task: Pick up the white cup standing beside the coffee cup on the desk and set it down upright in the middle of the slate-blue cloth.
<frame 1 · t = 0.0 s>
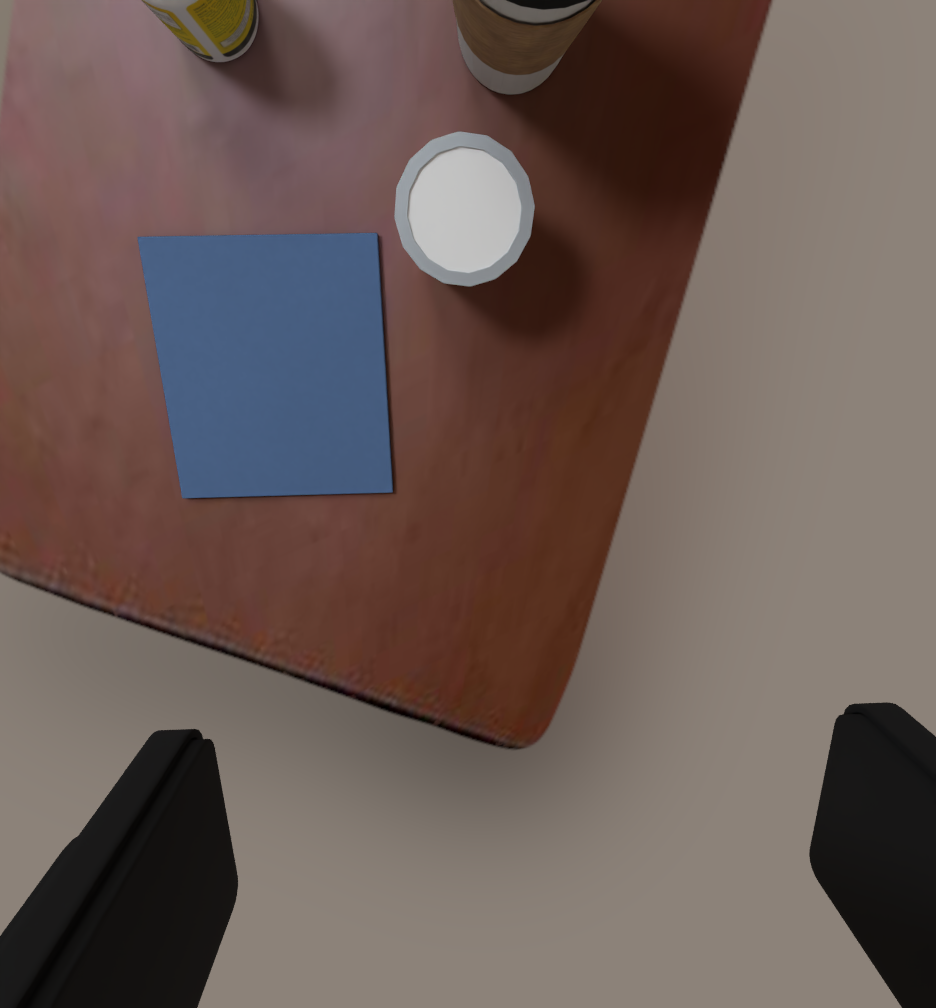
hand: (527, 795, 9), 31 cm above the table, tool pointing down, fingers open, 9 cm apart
supplement bottle: (216, 15, 32), on the table
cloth: (275, 373, 37), on the table
white cup: (461, 232, 35), on the table
coffee cup: (511, 34, 32), on the table
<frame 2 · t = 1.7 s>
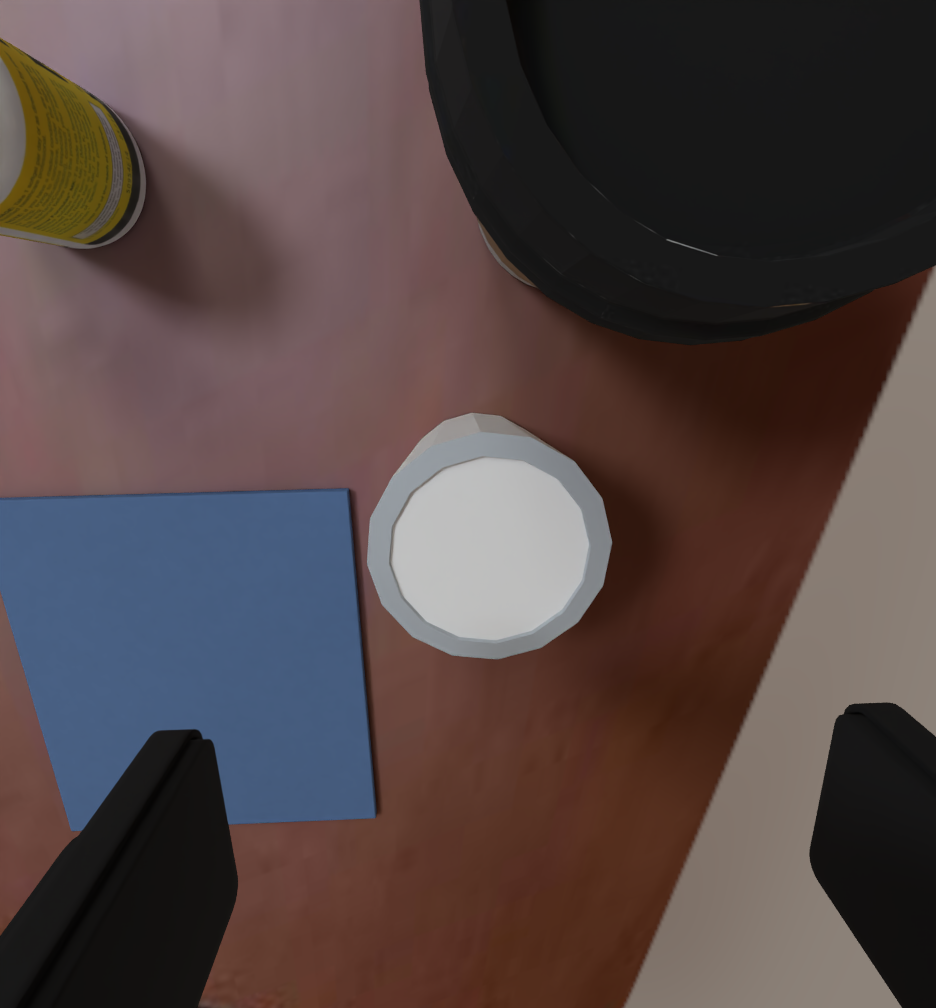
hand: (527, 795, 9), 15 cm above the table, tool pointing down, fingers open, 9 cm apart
supplement bottle: (78, 173, 19), on the table
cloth: (200, 671, 25), on the table
white cup: (477, 483, 23), on the table
coffee cup: (560, 199, 20), on the table
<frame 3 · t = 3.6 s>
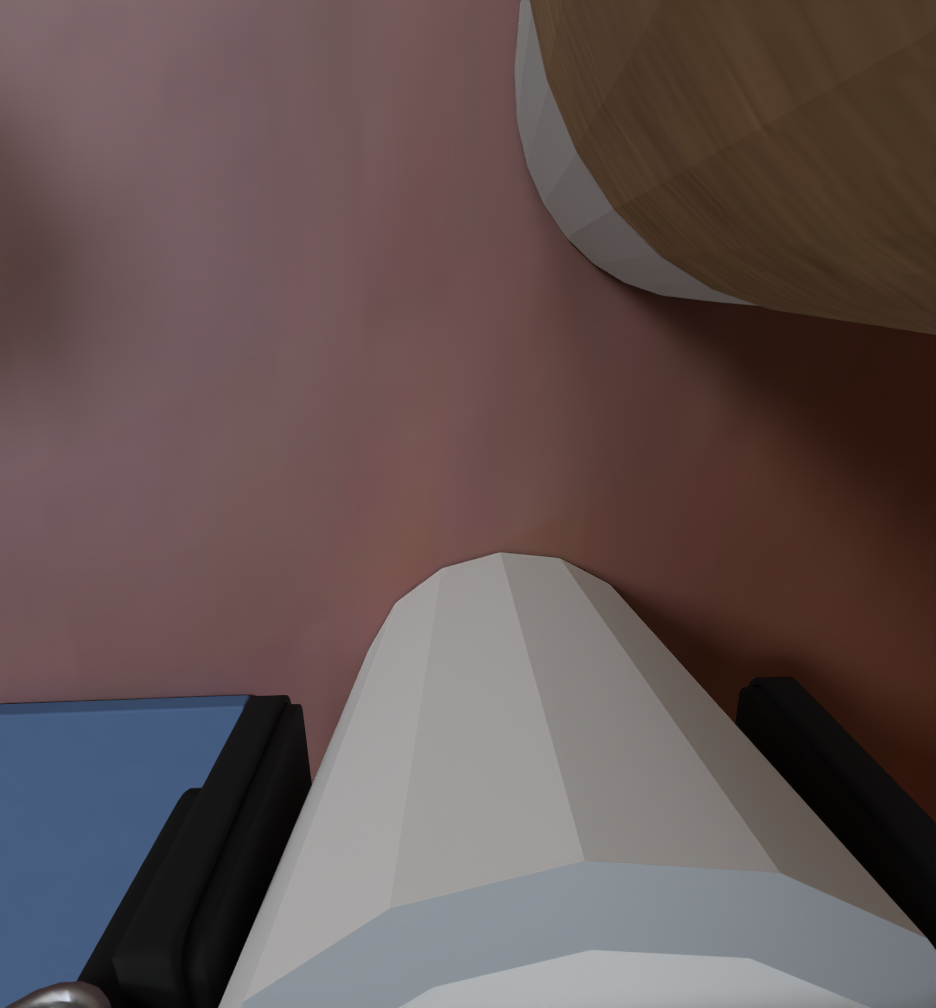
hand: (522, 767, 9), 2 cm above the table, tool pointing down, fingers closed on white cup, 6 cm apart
white cup: (507, 679, 12), on the table, touching gripper
coffee cup: (709, 89, 9), on the table
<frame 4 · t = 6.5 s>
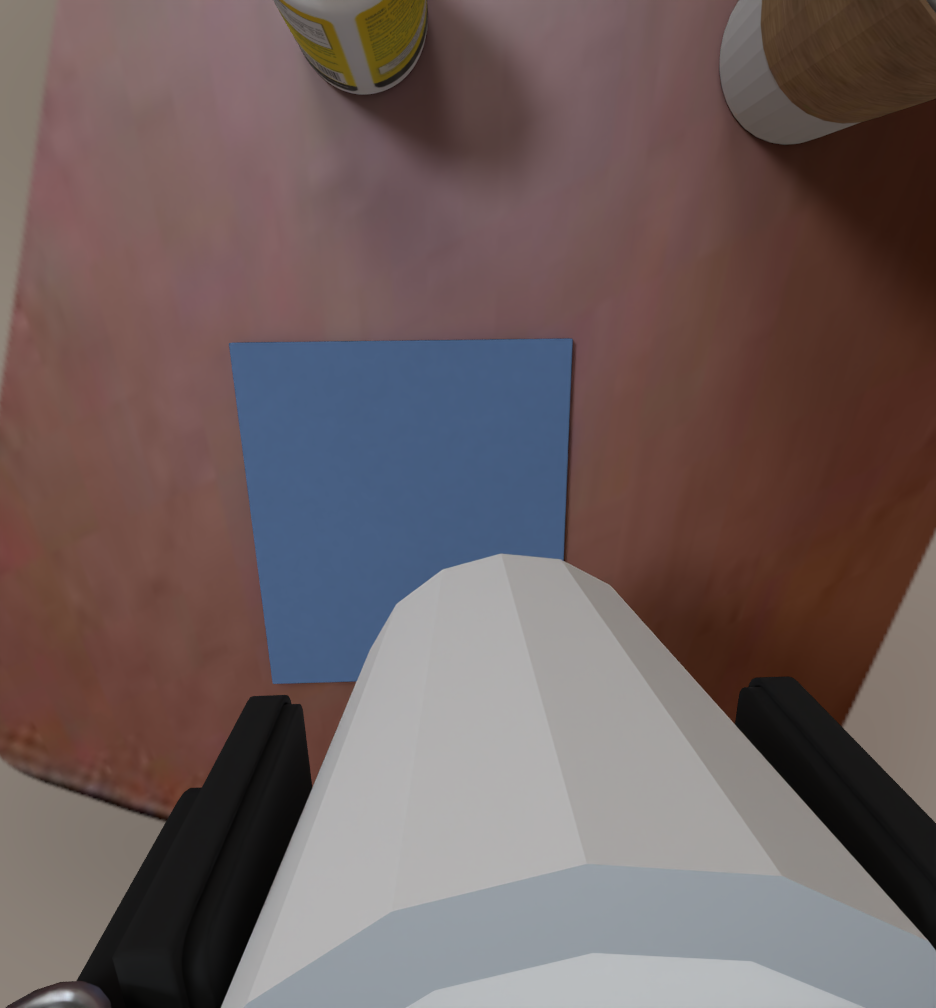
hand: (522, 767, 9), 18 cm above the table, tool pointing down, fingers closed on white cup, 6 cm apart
supplement bottle: (361, 23, 21), on the table
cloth: (410, 523, 27), on the table
white cup: (508, 680, 12), point 15 cm above the table, touching gripper
coffee cup: (794, 57, 22), on the table
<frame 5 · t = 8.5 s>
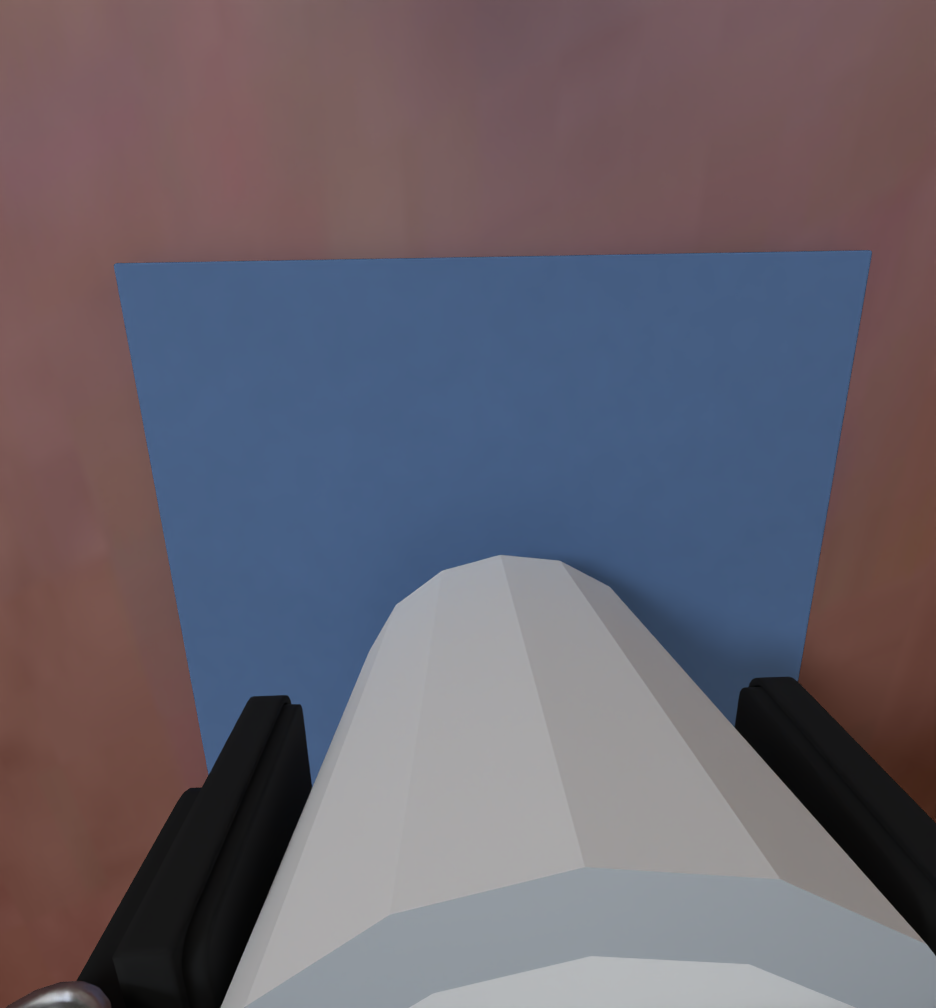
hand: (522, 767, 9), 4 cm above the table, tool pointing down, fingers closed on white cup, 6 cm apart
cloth: (499, 632, 13), on the table
white cup: (507, 681, 12), point 2 cm above the table, touching gripper
when the fingers open (3 cm above the table, at t = 9.6 s): white cup stays where it is, resting on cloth.
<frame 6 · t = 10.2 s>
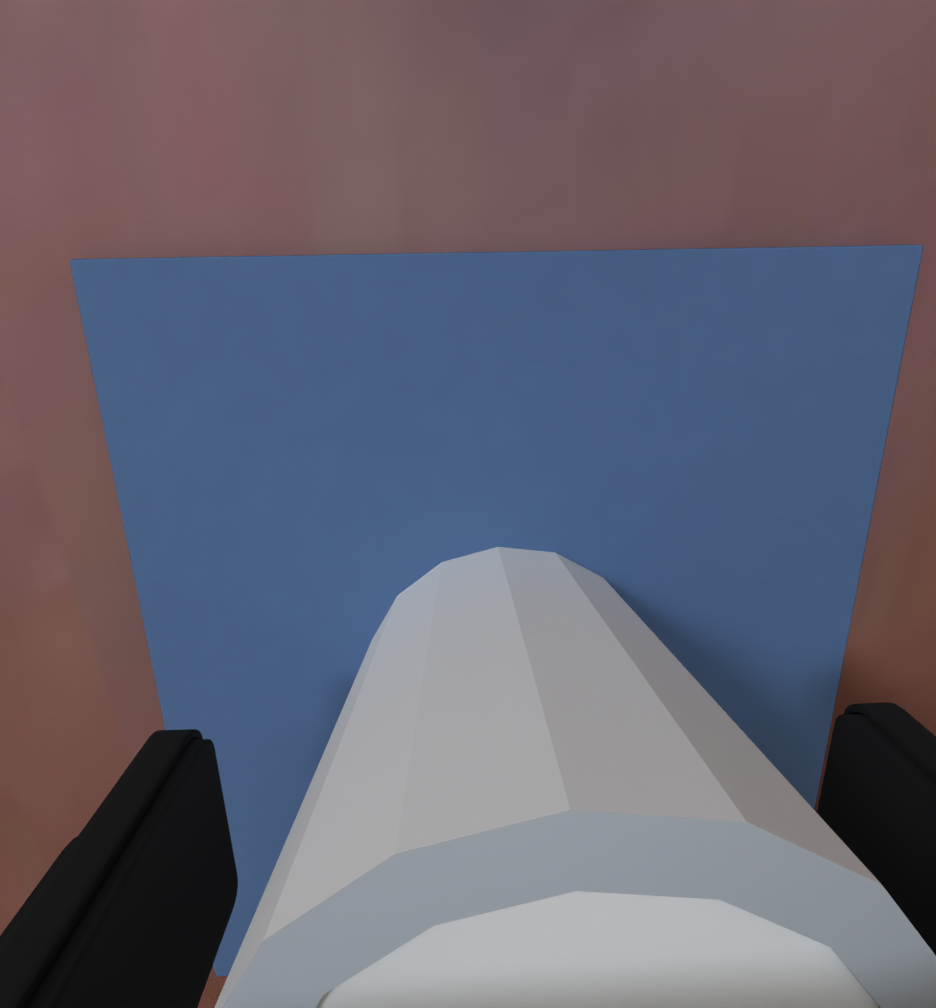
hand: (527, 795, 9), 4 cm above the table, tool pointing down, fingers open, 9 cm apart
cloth: (503, 666, 12), on the table
white cup: (505, 670, 12), resting on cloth
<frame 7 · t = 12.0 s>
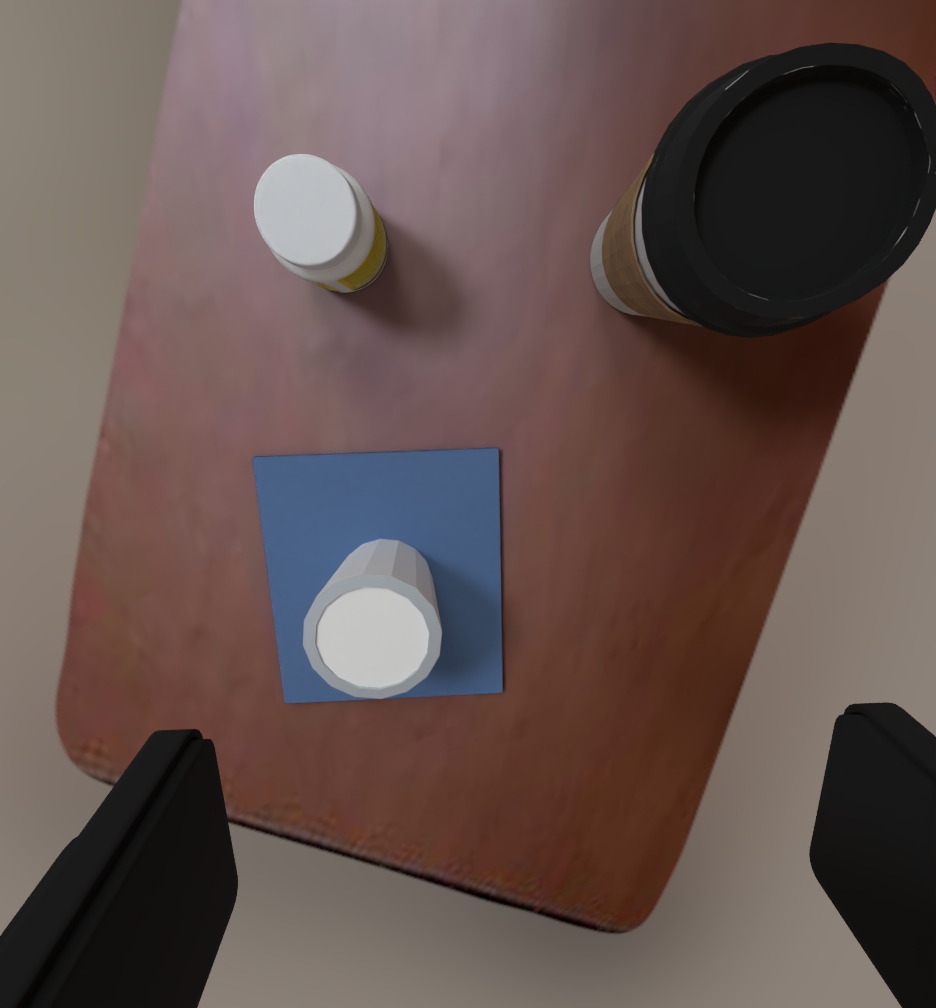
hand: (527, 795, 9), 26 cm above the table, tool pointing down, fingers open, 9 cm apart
supplement bottle: (343, 246, 31), on the table
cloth: (386, 580, 36), on the table
white cup: (386, 581, 36), resting on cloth
coffee cup: (642, 258, 32), on the table
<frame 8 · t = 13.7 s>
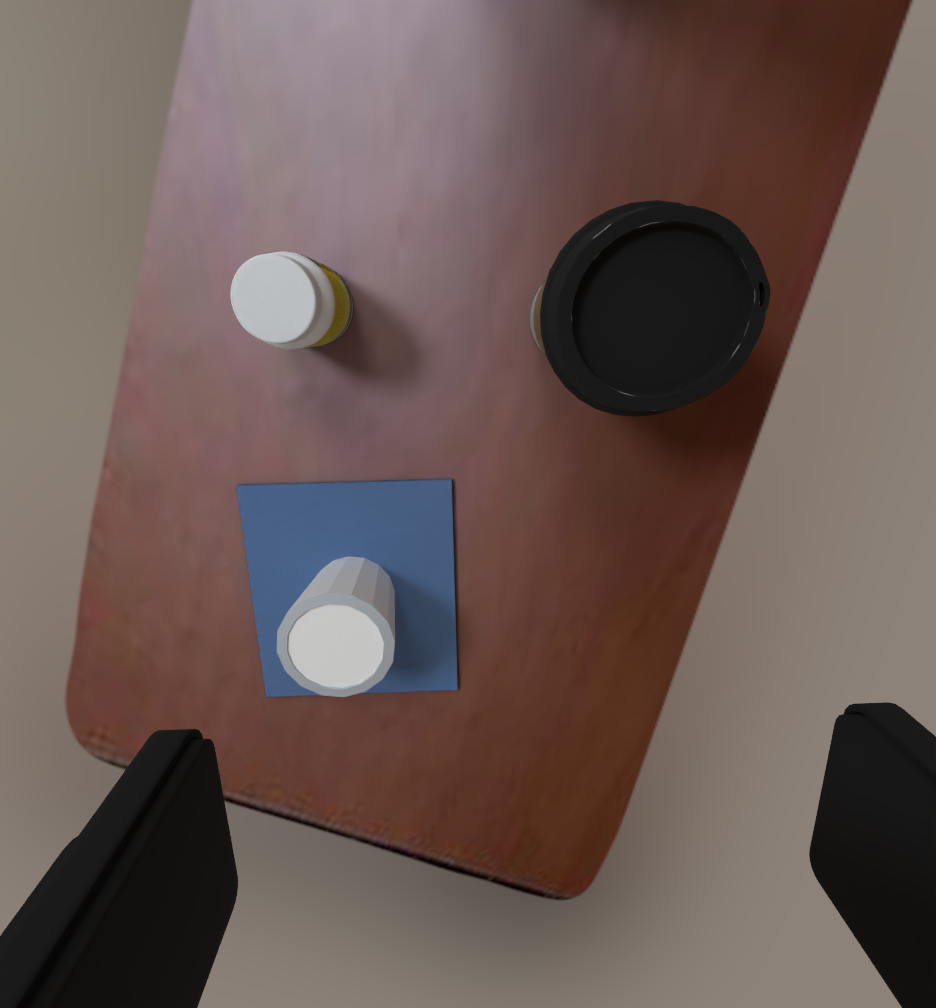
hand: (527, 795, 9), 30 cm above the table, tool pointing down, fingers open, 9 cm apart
supplement bottle: (314, 305, 35), on the table
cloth: (354, 591, 41), on the table
white cup: (354, 592, 41), resting on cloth
coffee cup: (576, 317, 36), on the table
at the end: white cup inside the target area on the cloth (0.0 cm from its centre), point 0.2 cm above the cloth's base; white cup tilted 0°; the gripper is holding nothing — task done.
